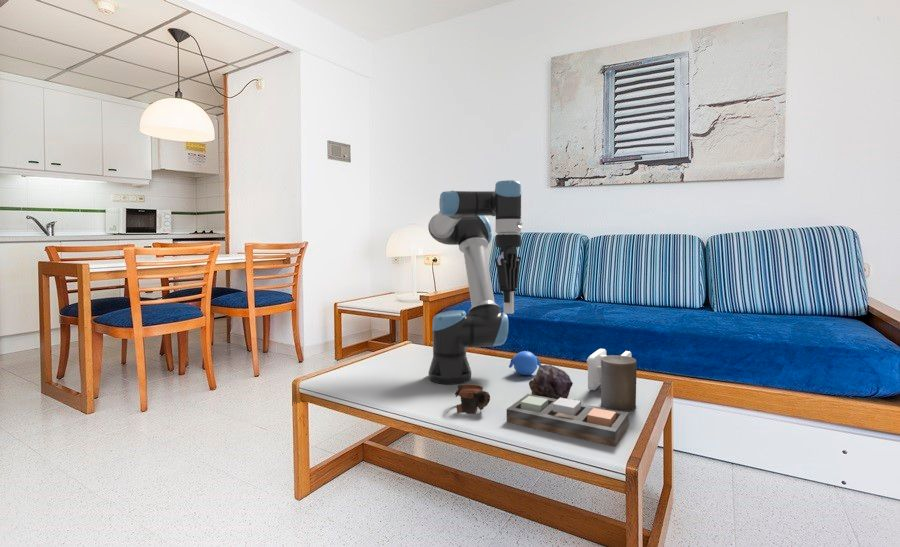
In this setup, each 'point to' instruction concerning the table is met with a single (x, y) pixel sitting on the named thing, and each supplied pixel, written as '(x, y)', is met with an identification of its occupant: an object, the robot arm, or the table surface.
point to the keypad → (569, 422)
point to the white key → (566, 406)
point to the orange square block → (601, 417)
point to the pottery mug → (471, 398)
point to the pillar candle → (618, 382)
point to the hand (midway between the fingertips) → (508, 313)
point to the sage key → (534, 404)
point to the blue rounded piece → (525, 363)
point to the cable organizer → (597, 367)
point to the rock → (551, 382)
